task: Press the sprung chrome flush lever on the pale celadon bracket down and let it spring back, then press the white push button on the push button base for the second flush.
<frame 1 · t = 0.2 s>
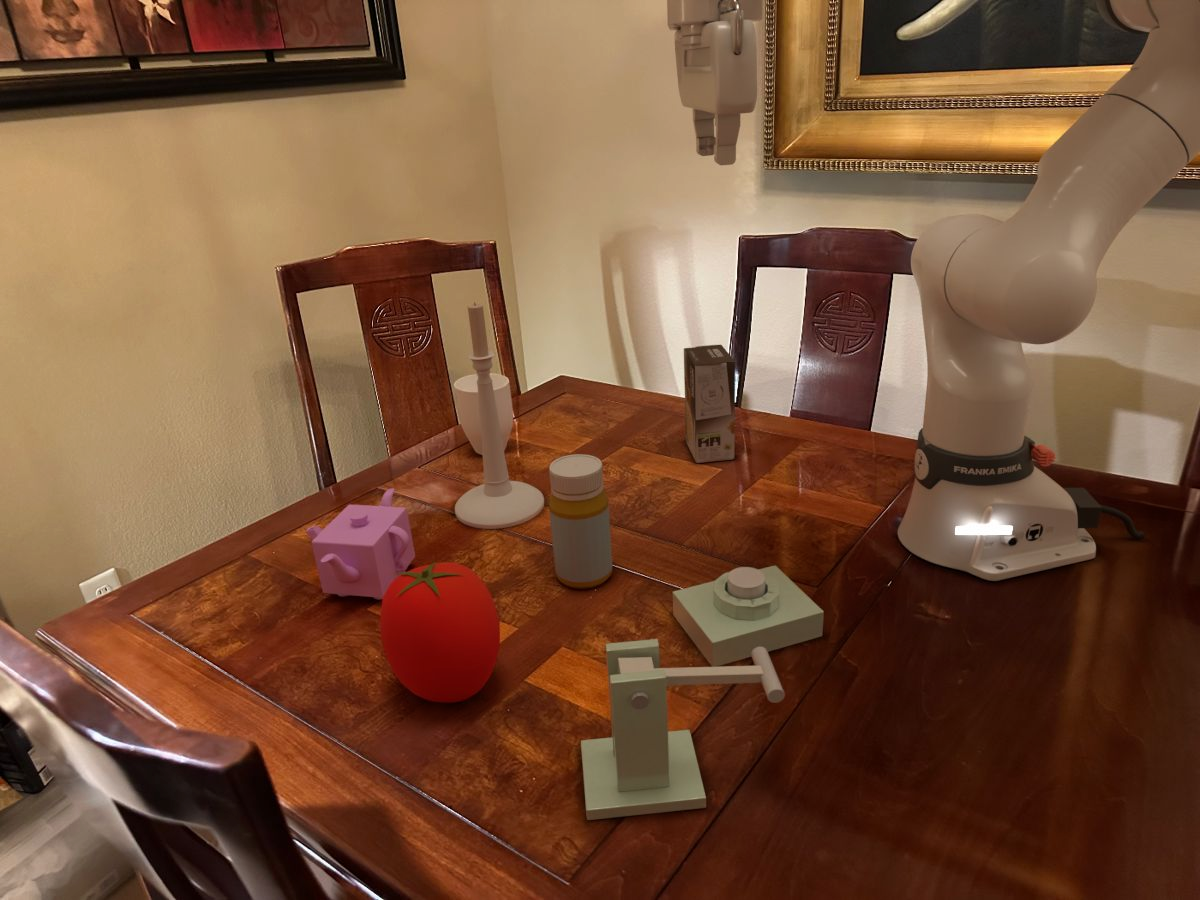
hand: (714, 159, 84), 48 cm above the table, tool pointing down, fingers open, 8 cm apart
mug: (492, 447, 141), on the table
white push button: (746, 583, 90), point 5 cm above the table, slide at 0.1 cm
lever bracket: (641, 777, 73), on the table
flush lever: (697, 675, 69), point 11 cm above the table, hinge at -5.1°
push button base: (745, 625, 92), on the table
coffee box: (709, 451, 134), on the table
bottle: (584, 576, 103), on the table
teapot: (367, 583, 105), on the table
candlestick: (500, 507, 121), on the table
tomato: (449, 685, 86), on the table
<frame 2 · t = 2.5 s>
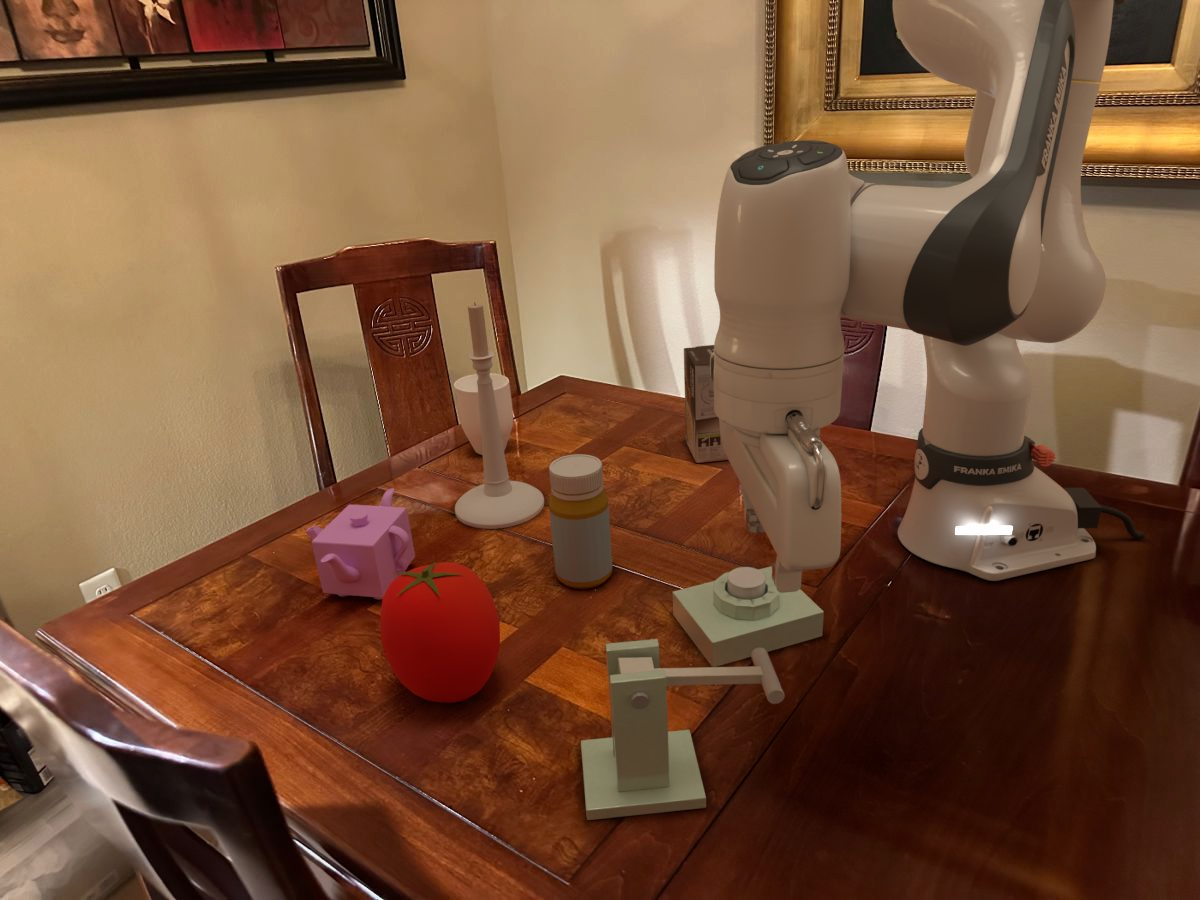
hand: (770, 556, 65), 21 cm above the table, tool pointing down, fingers open, 7 cm apart
flush lever: (697, 676, 69), point 10 cm above the table, hinge at -5.6°
everything else where it was.
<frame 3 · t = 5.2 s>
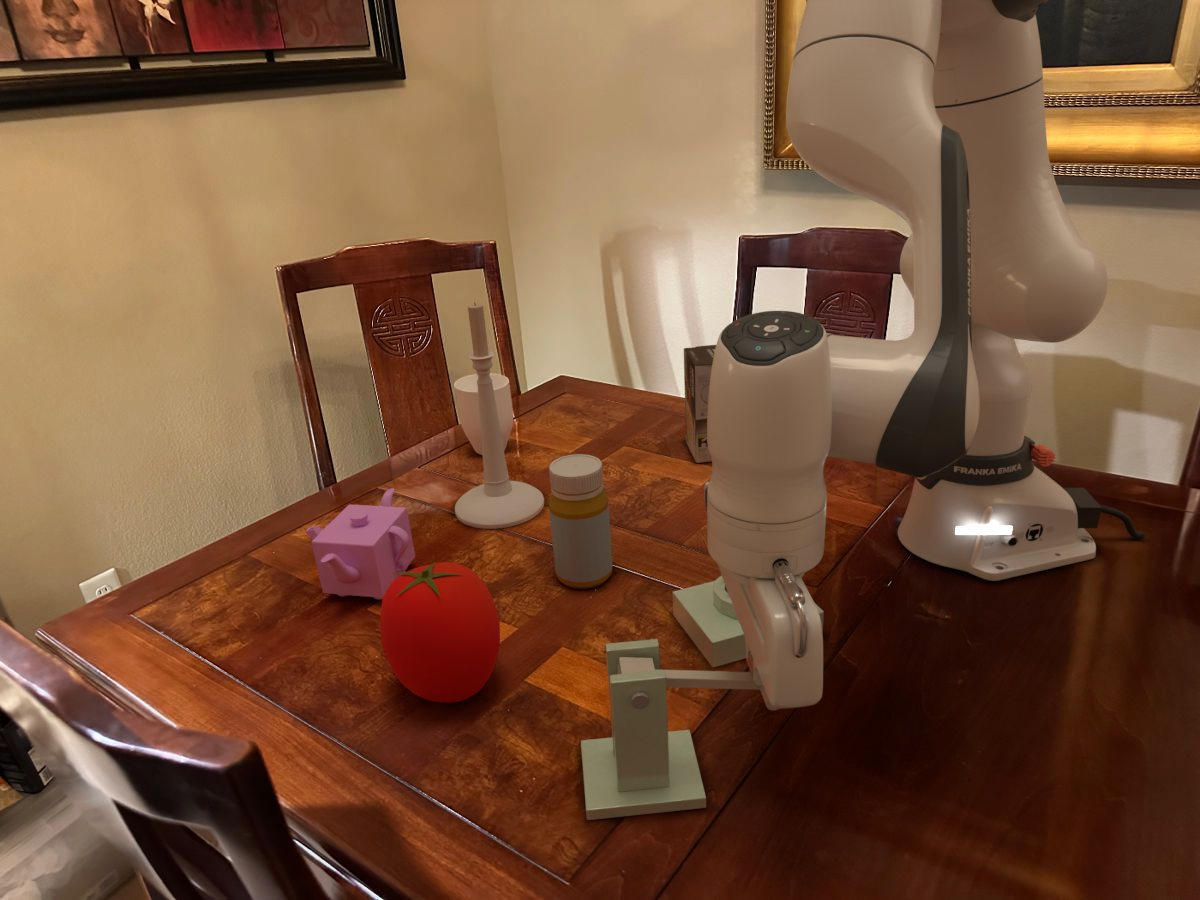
hand: (760, 674, 70), 10 cm above the table, tool pointing down, fingers closed, pressing on flush lever
flush lever: (697, 679, 69), point 10 cm above the table, hinge at -9.1°, touching gripper
everything else where it was.
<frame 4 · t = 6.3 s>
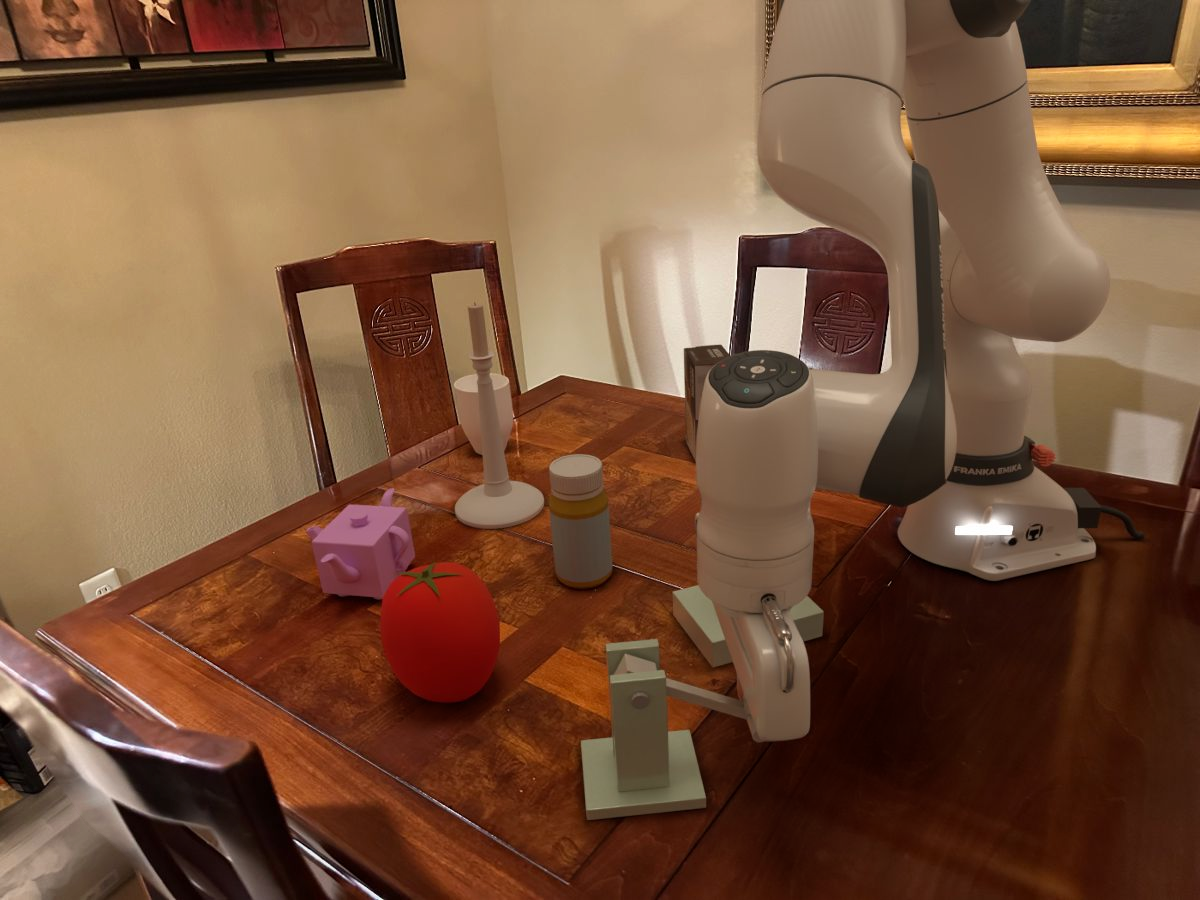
hand: (751, 702, 71), 7 cm above the table, tool pointing down, fingers closed, pressing on flush lever
flush lever: (691, 694, 70), point 9 cm above the table, hinge at -26.9°, touching gripper
everything else where it was.
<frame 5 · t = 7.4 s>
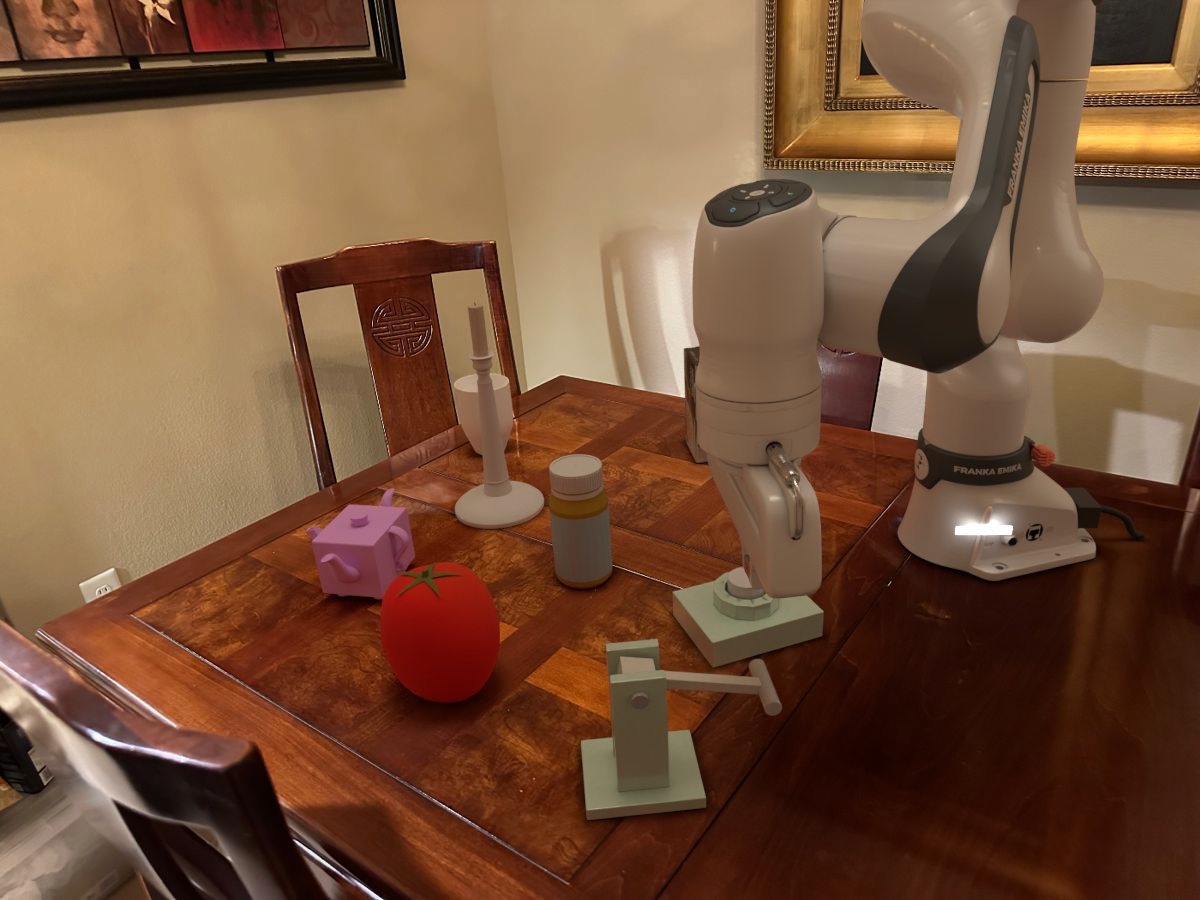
hand: (758, 579, 67), 19 cm above the table, tool pointing down, fingers closed
flush lever: (696, 681, 70), point 10 cm above the table, hinge at -11.8°
everything else where it was.
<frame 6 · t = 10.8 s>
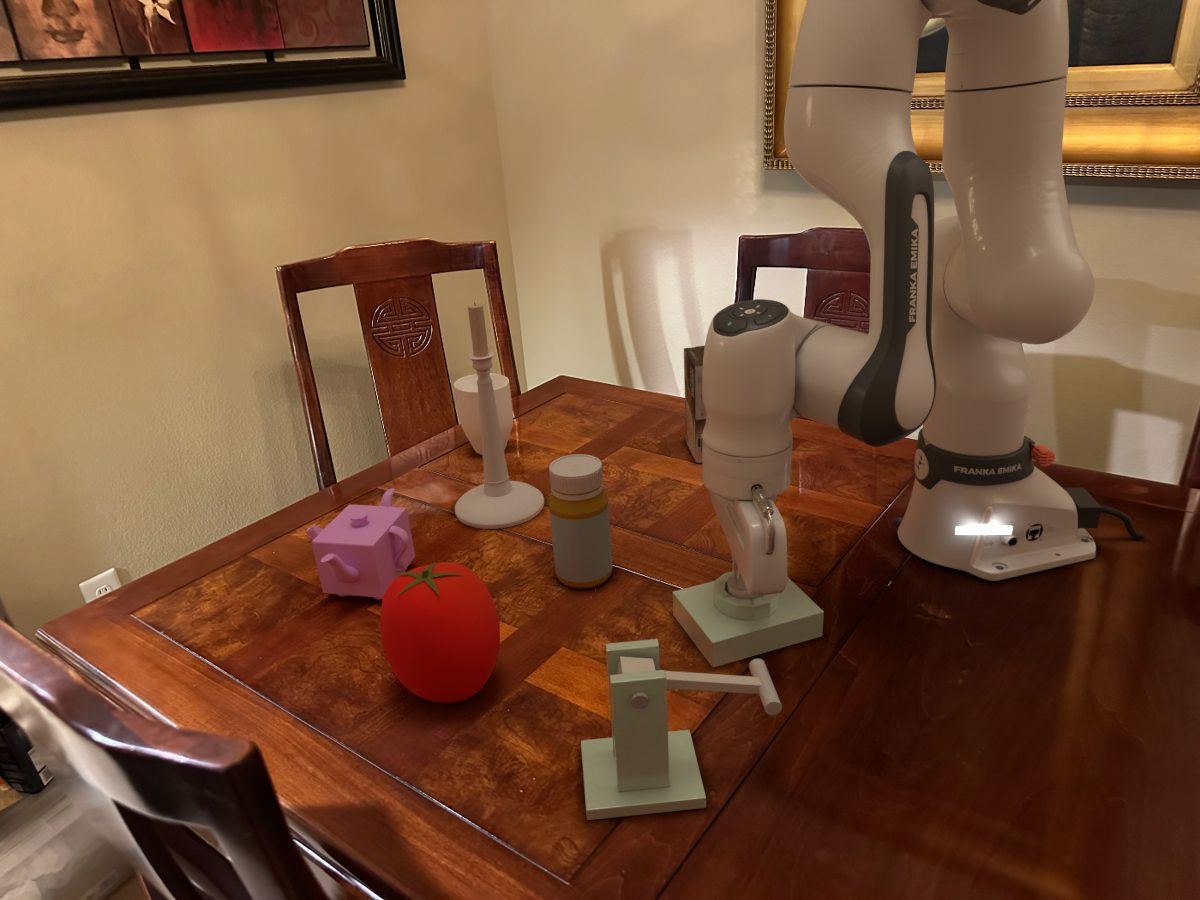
hand: (743, 582, 90), 6 cm above the table, tool pointing down, fingers closed, pressing on white push button
white push button: (746, 589, 90), point 5 cm above the table, slide at -0.6 cm, touching gripper
everything else where it was.
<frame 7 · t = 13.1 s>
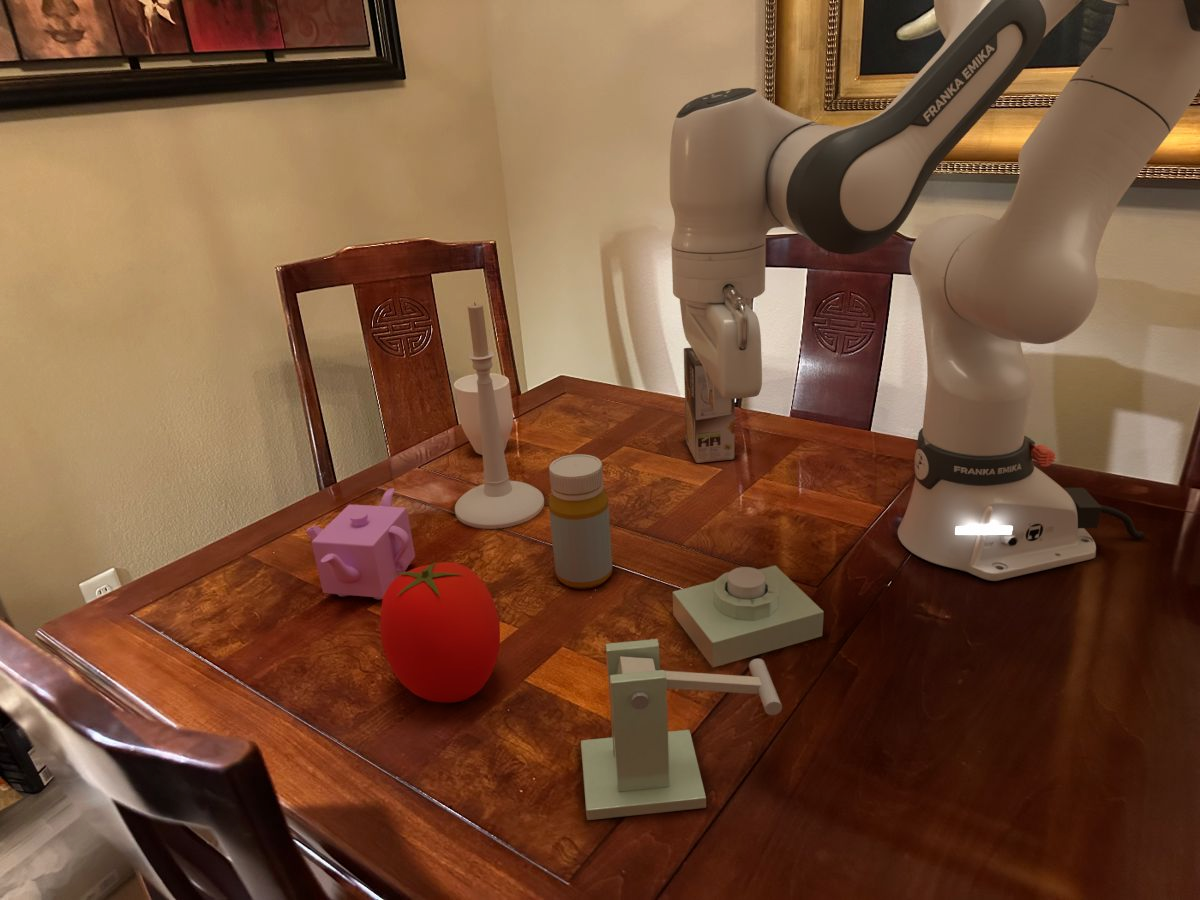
hand: (719, 408, 86), 24 cm above the table, tool pointing down, fingers closed
white push button: (746, 583, 90), point 5 cm above the table, slide at 0.1 cm
everything else where it was.
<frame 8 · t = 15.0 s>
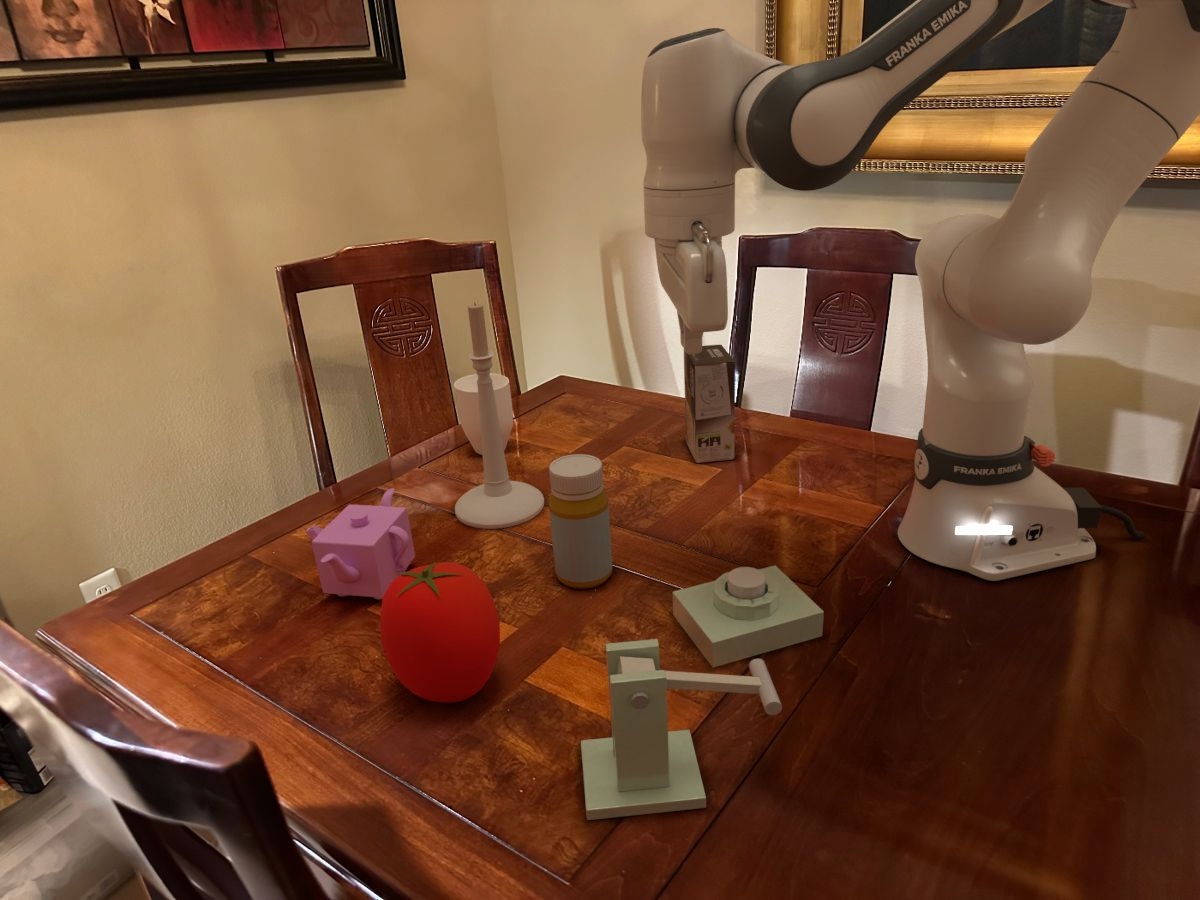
hand: (691, 350, 88), 29 cm above the table, tool pointing down, fingers closed
nothing on the table moved.
at the end: flush lever reached -27° during the clip, -12° at the end; white push button pushed in 1.0 cm at the most during the clip, back to where it started at the end; white push button slide at 0.1 cm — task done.
